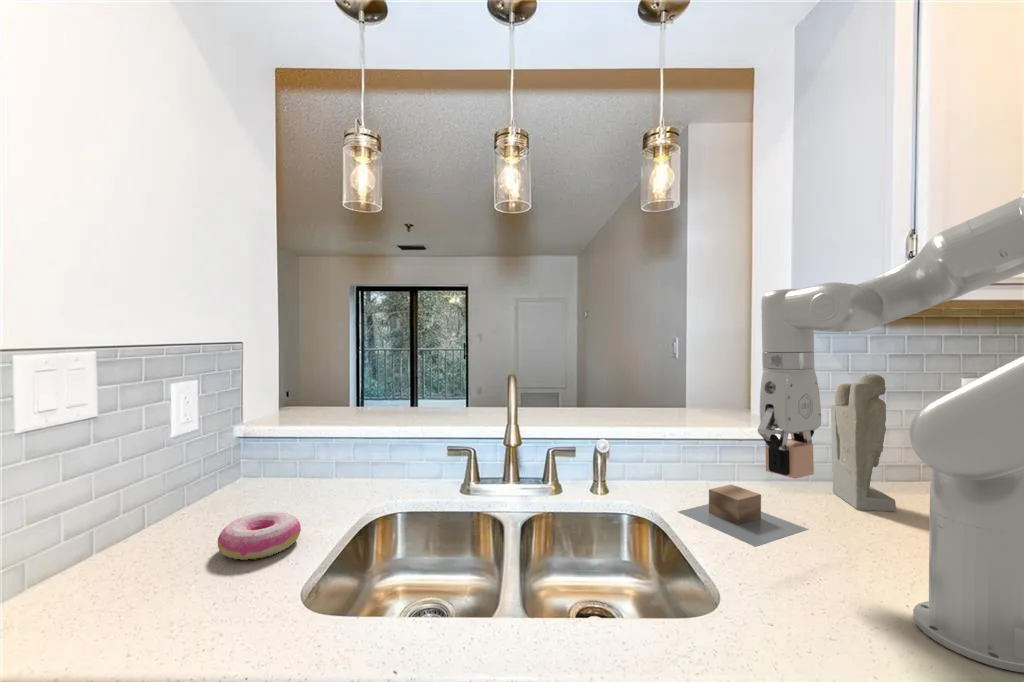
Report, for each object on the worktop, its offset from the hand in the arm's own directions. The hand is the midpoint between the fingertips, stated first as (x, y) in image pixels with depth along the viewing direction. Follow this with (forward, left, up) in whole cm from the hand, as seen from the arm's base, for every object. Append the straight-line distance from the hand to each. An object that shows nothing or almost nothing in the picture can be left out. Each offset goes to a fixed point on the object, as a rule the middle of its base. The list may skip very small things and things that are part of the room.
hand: (789, 469), depth 77 cm
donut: (+48, +80, -17) cm, 95 cm away
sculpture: (+9, -43, -16) cm, 47 cm away
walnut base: (+16, -8, -15) cm, 24 cm away
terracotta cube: (0, 0, -1) cm, 1 cm away
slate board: (+14, -7, -16) cm, 23 cm away
